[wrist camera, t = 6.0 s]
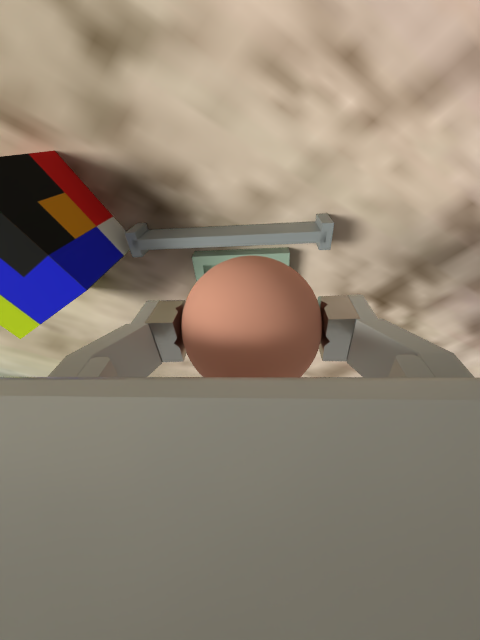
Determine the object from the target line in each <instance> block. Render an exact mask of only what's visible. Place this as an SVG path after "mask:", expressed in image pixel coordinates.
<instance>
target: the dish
mask: <svg viewBox="0 0 480 640" xmlns="http://www.w3.org/2000/svg"><path fill="white" fill-rule="evenodd" d="M240 256H263V257H268V258H272V259H275V260H277V261H280V262H282V263H284V264H286V265H288V266H289V259H290V252H289V247H286V248H261V249H237V250H212V251H195V252H194V254H193V255H192V261H193V266H194V271H195V276H196V282H197V281H198V280H199V279H200V278H201V277H202V276H203V275H204V274H205V273H206V272H207V271H208V270H210V269H211V268H212V267H214V266H216V265H217V264H219V263H221V262H224V261H226V260H229V259H232V258H236V257H240Z"/></svg>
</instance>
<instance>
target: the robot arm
mask: <svg viewBox="0 0 480 640" xmlns="http://www.w3.org/2000/svg"><path fill="white" fill-rule="evenodd" d="M317 301H318V303H319V307H320V311H321V316H322V337H321V341H320V345H319V351H320V354H321V358H322V361H347V363H348V364H349V365H350V366H351V367H353V368H354V369H355V370H356V371H357V372H358V373H359V374H360V375H361V376H362V377H147V376H148V375H150V374H151V373H152V372H153V371H154V370H155V369H156V368H157V367H158V366H159V365H161V364H162V362H181V361H184V359H185V356H186V353H187V352H186V349H185V346H184V344H183V338H182V331H181V321H182V313H183V309H184V306H185V302H186V301H185V300H166V301H160V300H157V301H147V302H146V303H145V304H144V306H143V307H142V308H141V310H140V311H139V313H138V314H137V315H136V317H135V318H134V320H133V321H132V322H131V324H126V325H124V326H122V327H120V328H118V329H116V330H114V331H112V332H110V333H109V334H107V335H105V336H103V337H101V338H99V339H97V340H95V341H94V342H92V343H90V344H88V345H86V346H84V347H82V348H80V349H78V350H77V351H75V352H73V353H71V354H69V355H67V356H66V357H65V358H64V359H63V360H62V361H61V362H60V364H59V365H58V366H57V367H56V368H55V369H54V370H53V371H52V372H51V374H50V375H49V376H48V377H0V640H480V378H475V377H474V376H473V375H472V374H471V373H470V372H469V370H468V369H467V368H466V367H465V366H464V365H463V364H462V362H461V361H460V360H459V359H458V358H457V357H456V356H455V354H454V353H452V352H450V351H448V350H445V349H443V348H441V347H439V346H437V345H435V344H433V343H431V342H429V341H427V340H425V339H423V338H421V337H419V336H417V335H415V334H413V333H411V332H409V331H407V330H405V329H403V328H401V327H399V326H397V325H394V324H392V323H390V322H388V321H386V320H384V319H378V318H377V316H376V315H375V313H374V312H373V310H372V309H371V307H370V306H369V304H368V303H367V301H366V300H365V298H364V297H363V295H361V294H356V295H338V296H320V297H318V300H317Z"/></svg>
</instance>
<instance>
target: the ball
mask: <svg viewBox="0 0 480 640" xmlns="http://www.w3.org/2000/svg"><path fill="white" fill-rule="evenodd" d="M181 331H182V338H183V344H184V346H185V349H186V352H187V355H188V357H189V359H190V361H191V362H192V364H193V366H194V367H195V368H196V370H197V371H198V372H199V373H200V374H201V375H202V376H203V377H301V376H302V375H303V374H304V373H305V371H306V370H307V369H308V368H309V367H310V365H311V363H312V362H313V360H314V358H315V356H316V354H317V351H318V349H319V345H320V341H321V337H322V316H321V311H320V307H319V303H318V301H317V299H316V296H315V294H314V292H313V290H312V289H311V287H310V286H309V284H308V283H307V282H306V281H305V279H304V278H303V277H302V276H301V275H300V274H299V273H298V272H296V271H295V270H294V269H293V268H291V267H289V266H288V265H286V264H284V263H282V262H280V261H277V260H275V259H272V258H268V257H263V256H240V257H236V258H232V259H229V260H226V261H224V262H221V263H219V264H217V265H216V266H214V267H212V268H211V269H210V270H208V271H207V272H206V273H205V274H204V275H203V276H202V277H201V278H200V279H199V280H198V281H197V282H196V284H195V285H194V286H193V288H192V290H191V291H190V293H189V295H188V297H187V299H186V302H185V306H184V309H183V313H182V321H181Z"/></svg>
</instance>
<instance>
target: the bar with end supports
mask: <svg viewBox="0 0 480 640" xmlns="http://www.w3.org/2000/svg"><path fill="white" fill-rule="evenodd" d="M333 228H334V222H333V221H332V219H331V218H330V217H329V215H328V214H316V222H296V223H276V224H256V225H236V226H215V227H195V228H175V229H155V230H148V227H147V224H146V223H137V224H136V225H134V226H133V227H132V228H130V229H129V230H128V231H126V232H125V236H126V239H127V242H128V245H129V248H130V251H131V254H132V257H143V256H144V255H145V254H146V252H147V251H148V250H155V249H179V248H203V247H226V246H250V245H274V244H298V243H316V244H317V247H318V249H319V250H330V248H331V241H332V234H333Z"/></svg>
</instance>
